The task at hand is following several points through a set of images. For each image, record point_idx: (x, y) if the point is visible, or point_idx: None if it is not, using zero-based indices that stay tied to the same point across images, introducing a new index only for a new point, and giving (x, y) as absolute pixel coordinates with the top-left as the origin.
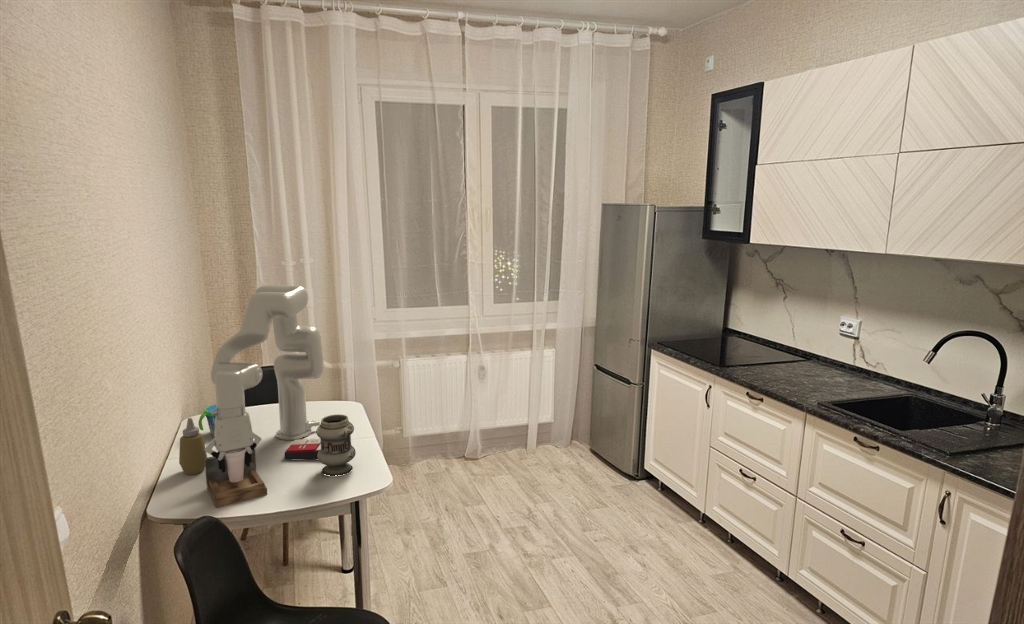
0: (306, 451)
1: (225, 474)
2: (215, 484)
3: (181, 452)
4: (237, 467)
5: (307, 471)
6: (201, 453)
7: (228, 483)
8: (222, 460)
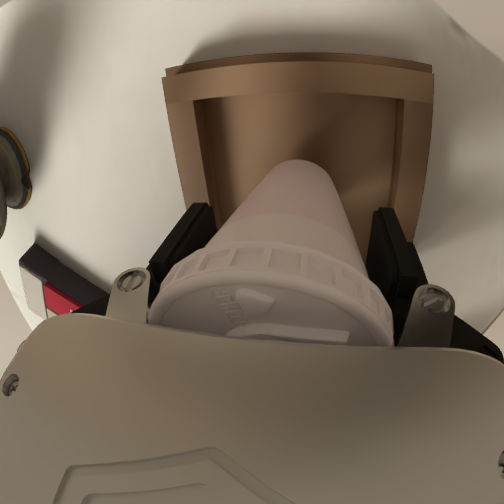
0: (64, 292)
1: None
2: (402, 212)
3: None
4: (284, 190)
5: (61, 201)
6: None
7: None
8: (415, 273)
